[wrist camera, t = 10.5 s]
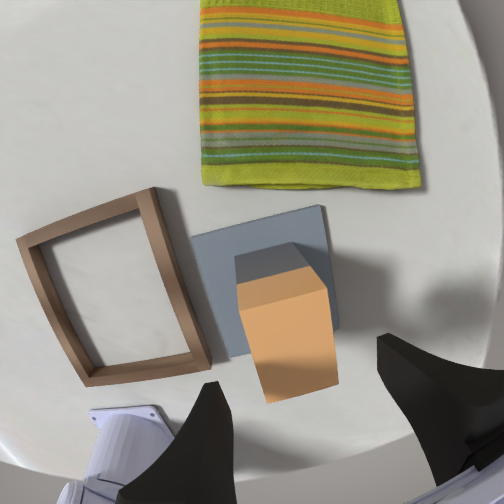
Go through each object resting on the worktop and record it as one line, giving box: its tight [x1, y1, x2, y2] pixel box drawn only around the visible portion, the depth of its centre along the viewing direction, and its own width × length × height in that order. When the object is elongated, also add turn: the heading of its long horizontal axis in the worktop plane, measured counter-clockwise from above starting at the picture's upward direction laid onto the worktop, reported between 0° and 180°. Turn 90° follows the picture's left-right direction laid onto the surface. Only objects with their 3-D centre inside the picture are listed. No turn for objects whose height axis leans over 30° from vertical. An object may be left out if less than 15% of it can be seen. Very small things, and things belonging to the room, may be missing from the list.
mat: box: [190, 205, 339, 358], centre depth 22 cm, size 10×9×1 cm
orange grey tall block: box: [234, 242, 339, 404], centre depth 18 cm, size 6×4×8 cm, turn 13°
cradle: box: [16, 187, 212, 387], centre depth 21 cm, size 14×12×2 cm
